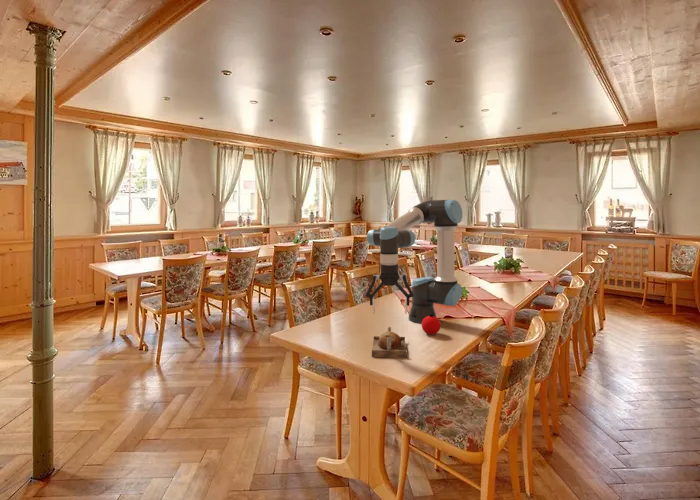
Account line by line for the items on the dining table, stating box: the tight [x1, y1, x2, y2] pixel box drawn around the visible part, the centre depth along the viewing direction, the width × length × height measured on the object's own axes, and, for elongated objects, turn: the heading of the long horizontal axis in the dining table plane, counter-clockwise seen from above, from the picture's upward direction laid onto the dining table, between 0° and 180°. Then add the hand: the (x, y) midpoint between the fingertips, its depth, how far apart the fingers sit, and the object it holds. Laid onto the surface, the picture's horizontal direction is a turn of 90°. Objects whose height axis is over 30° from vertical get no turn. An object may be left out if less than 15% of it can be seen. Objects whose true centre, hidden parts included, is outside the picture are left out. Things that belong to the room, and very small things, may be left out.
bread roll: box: [378, 330, 402, 349], centre depth 165 cm, size 10×10×8 cm
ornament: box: [421, 314, 442, 336], centre depth 184 cm, size 9×9×10 cm
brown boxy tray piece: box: [371, 326, 407, 358], centre depth 165 cm, size 14×18×8 cm
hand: (389, 312), depth 164 cm, fingers open, 13 cm apart
